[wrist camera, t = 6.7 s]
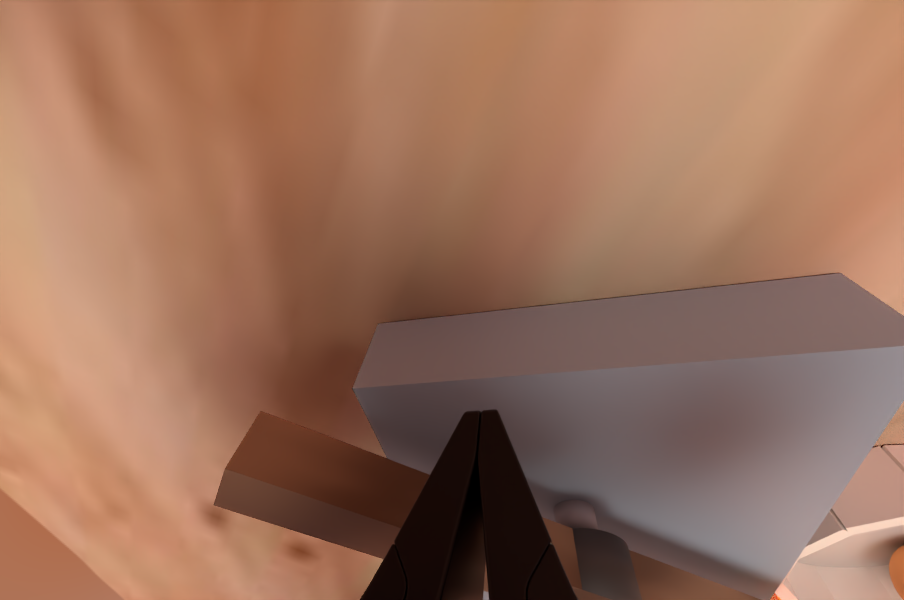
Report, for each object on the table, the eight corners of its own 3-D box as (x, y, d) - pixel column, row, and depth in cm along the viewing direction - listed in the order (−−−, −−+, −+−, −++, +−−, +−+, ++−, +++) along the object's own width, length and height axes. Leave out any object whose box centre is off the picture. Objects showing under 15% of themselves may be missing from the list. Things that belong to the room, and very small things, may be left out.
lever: (847, 623, 14) (883, 683, 13) (772, 641, 16) (798, 696, 14) (264, 399, 10) (228, 458, 8) (243, 457, 11) (211, 513, 10)
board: (729, 537, 20) (773, 632, 16) (462, 537, 22) (456, 619, 19) (840, 272, 11) (980, 369, 8) (378, 323, 13) (343, 410, 10)
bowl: (949, 562, 19) (1001, 623, 17) (723, 560, 21) (747, 614, 19) (1098, 437, 13) (1201, 506, 12) (771, 449, 15) (812, 509, 13)
